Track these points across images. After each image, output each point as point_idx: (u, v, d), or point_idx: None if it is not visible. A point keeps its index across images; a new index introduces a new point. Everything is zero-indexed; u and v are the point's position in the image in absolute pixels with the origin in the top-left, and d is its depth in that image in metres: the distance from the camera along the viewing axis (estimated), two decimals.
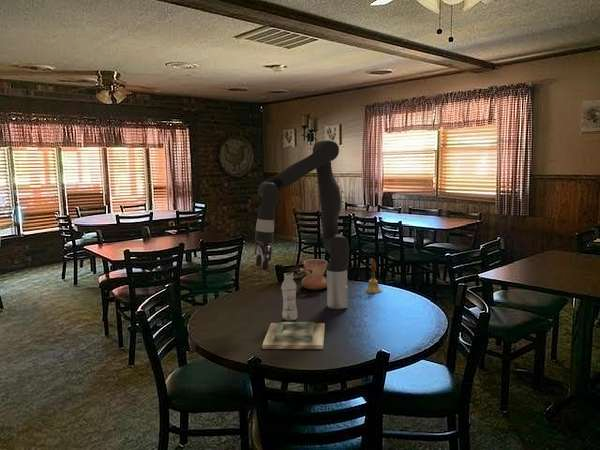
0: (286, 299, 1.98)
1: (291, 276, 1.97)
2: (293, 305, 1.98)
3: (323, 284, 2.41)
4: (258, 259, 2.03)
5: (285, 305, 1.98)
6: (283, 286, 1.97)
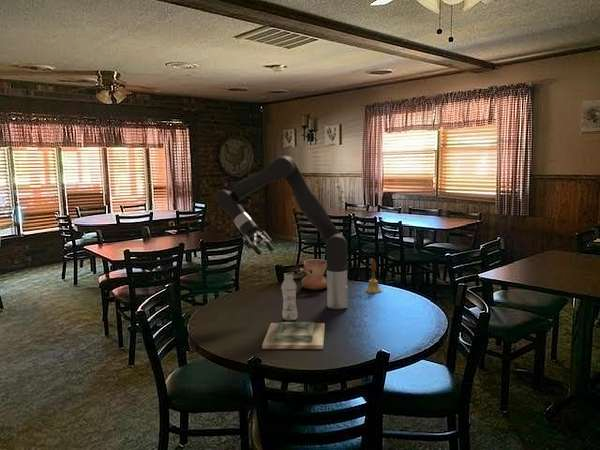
0: (286, 299, 1.98)
1: (291, 276, 1.97)
2: (293, 305, 1.98)
3: (323, 284, 2.41)
4: (267, 246, 2.13)
5: (285, 305, 1.98)
6: (283, 286, 1.97)
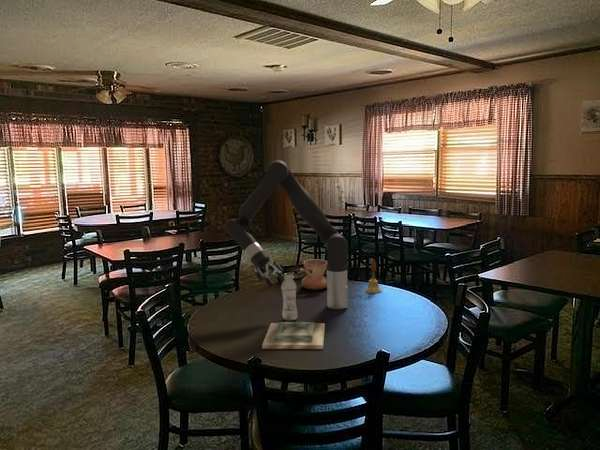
0: (286, 299, 1.98)
1: (291, 276, 1.97)
2: (293, 305, 1.98)
3: (323, 284, 2.41)
4: (279, 277, 2.06)
5: (285, 305, 1.98)
6: (283, 286, 1.97)
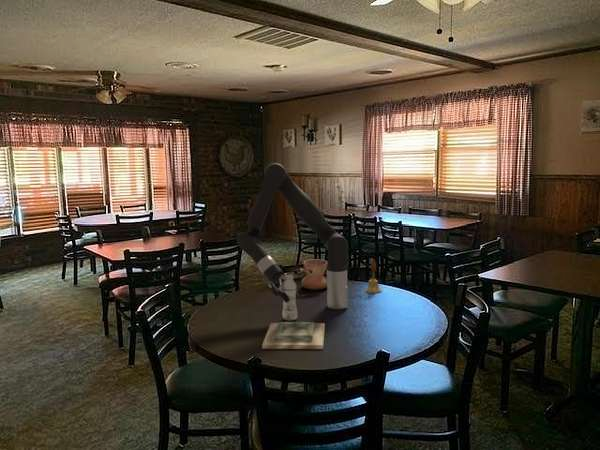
0: None
1: (291, 276, 1.97)
2: (293, 305, 1.98)
3: (323, 284, 2.41)
4: None
5: (285, 305, 1.98)
6: (283, 286, 1.97)
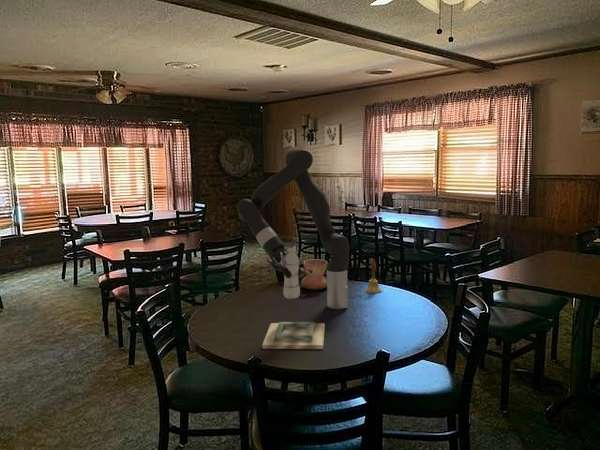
0: None
1: (293, 249, 1.78)
2: (296, 282, 1.79)
3: (323, 284, 2.41)
4: None
5: (286, 281, 1.79)
6: (284, 260, 1.78)
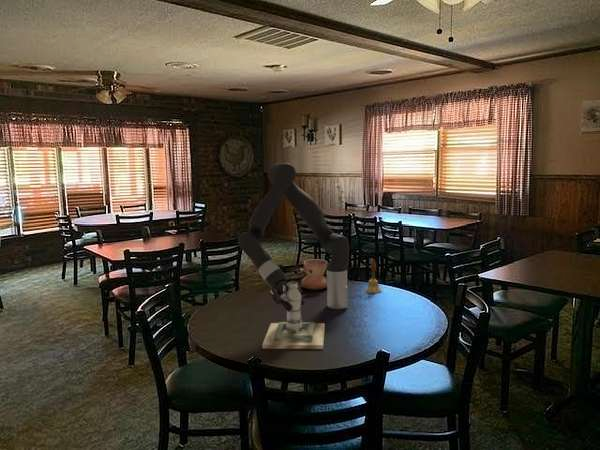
0: (290, 311, 1.78)
1: (295, 285, 1.78)
2: (298, 317, 1.79)
3: (323, 284, 2.41)
4: None
5: (289, 317, 1.79)
6: (287, 296, 1.78)
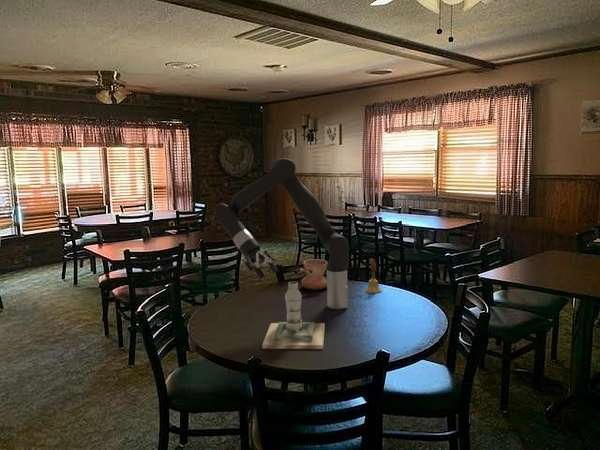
0: (290, 311, 1.78)
1: (296, 285, 1.78)
2: (298, 317, 1.79)
3: (323, 284, 2.41)
4: (271, 266, 1.91)
5: (289, 317, 1.79)
6: (287, 296, 1.78)
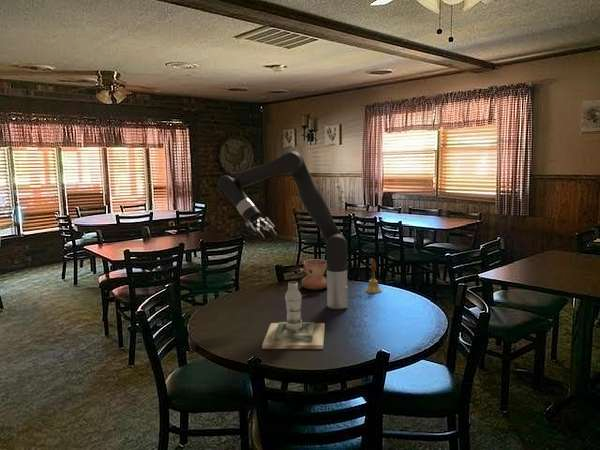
0: (290, 311, 1.78)
1: (296, 285, 1.78)
2: (298, 317, 1.79)
3: (323, 284, 2.41)
4: (270, 232, 2.10)
5: (289, 317, 1.79)
6: (287, 296, 1.78)
